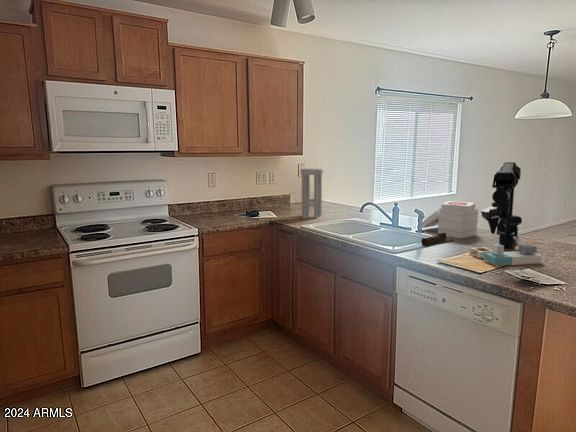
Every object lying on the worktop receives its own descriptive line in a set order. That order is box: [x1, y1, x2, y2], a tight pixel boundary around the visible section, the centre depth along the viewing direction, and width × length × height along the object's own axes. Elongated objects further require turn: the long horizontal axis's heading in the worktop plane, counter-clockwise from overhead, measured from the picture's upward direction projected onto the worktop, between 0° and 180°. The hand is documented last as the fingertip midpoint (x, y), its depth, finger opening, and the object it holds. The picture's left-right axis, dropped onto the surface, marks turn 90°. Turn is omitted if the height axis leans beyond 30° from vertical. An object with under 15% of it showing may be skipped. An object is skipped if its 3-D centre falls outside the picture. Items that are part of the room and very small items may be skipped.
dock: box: [483, 250, 543, 266], centre depth 178 cm, size 8×22×4 cm, turn 98°
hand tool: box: [420, 233, 447, 246], centre depth 213 cm, size 19×4×5 cm, turn 122°
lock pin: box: [492, 243, 505, 257], centre depth 177 cm, size 3×3×8 cm
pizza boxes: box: [421, 200, 479, 239], centre depth 235 cm, size 19×30×18 cm, turn 33°
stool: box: [300, 167, 324, 219], centre depth 290 cm, size 16×16×35 cm
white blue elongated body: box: [513, 236, 518, 245], centre depth 219 cm, size 5×7×25 cm
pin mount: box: [469, 246, 493, 259], centre depth 188 cm, size 8×8×3 cm
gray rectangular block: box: [518, 244, 538, 255], centre depth 179 cm, size 4×6×7 cm
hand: (499, 236), depth 175 cm, fingers open, 9 cm apart
